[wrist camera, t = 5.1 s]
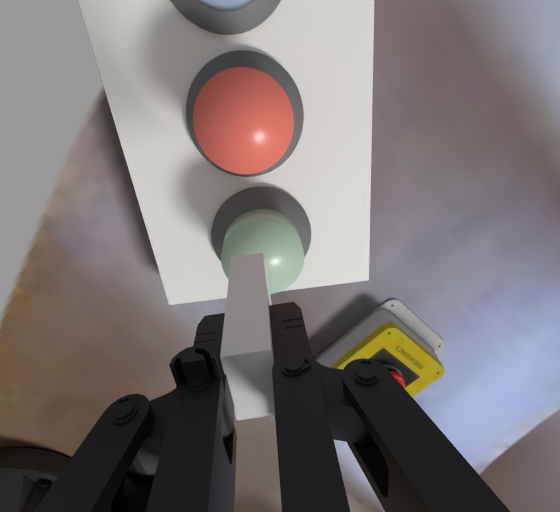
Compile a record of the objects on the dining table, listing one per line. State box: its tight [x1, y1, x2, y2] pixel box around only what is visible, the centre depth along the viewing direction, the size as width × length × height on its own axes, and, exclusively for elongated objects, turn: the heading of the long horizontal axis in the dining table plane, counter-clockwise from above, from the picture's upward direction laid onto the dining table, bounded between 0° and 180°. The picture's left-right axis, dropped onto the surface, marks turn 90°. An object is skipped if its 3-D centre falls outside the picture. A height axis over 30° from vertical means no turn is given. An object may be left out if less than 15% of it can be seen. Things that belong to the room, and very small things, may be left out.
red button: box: [193, 67, 294, 174], centre depth 19 cm, size 5×5×2 cm
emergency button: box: [316, 299, 446, 397], centre depth 34 cm, size 9×4×15 cm
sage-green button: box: [221, 209, 304, 294], centre depth 22 cm, size 5×5×2 cm
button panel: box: [78, 0, 374, 305], centre depth 22 cm, size 16×26×3 cm, turn 6°
